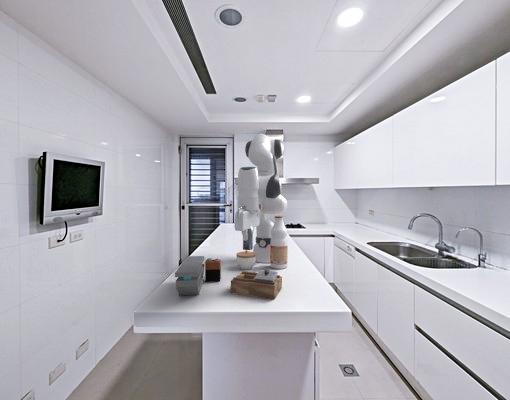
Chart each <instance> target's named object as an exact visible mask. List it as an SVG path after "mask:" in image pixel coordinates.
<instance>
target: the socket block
mask: <svg viewBox="0 0 510 400" xmlns="http://www.w3.org/2000/svg"><path fill="white" fill-rule="evenodd" d="M258 273H259V272H251V271H245V270H244V271H243V270H242V271H241V272H240V273H238V275H236V276H234V277H233V278H232V279H231V280H230V294H235V295H242V296H247V297H254V298H255V297H256V298H261V299H262V298H263V299H269V300H275V299H276V298H277V296H278V295H279V293H280V292H281V291H282V289H283V276H281V275H278V278H277V279H276V281H275V282H270V281H261V280H256V275H257V274H258Z"/></svg>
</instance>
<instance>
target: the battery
mask: <svg viewBox="0 0 510 400" xmlns="http://www.w3.org/2000/svg"><path fill="white" fill-rule="evenodd" d="M221 276H222V260H221V259H219V258H215V259H213V258H212V257H208V258H207V259H206V260H205V262H204V282H206V283H207V282H208V283H210V282H211V283H215V282H216V283H217V282H218V283H220V282H221V279H222V277H221Z"/></svg>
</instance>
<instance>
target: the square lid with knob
mask: <svg viewBox="0 0 510 400" xmlns="http://www.w3.org/2000/svg"><path fill="white" fill-rule="evenodd" d="M257 273H258V274H257V275H256V280H261V281H270V282H275V281H276V279H277V278H278V271H274V270H273V271H272V270H270V269H262V270H260V271H259V272H257Z"/></svg>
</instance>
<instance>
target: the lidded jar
mask: <svg viewBox="0 0 510 400" xmlns="http://www.w3.org/2000/svg"><path fill="white" fill-rule="evenodd" d="M235 254H236V262H237V263H236V264H238V267H240V269H242V270H251V269H253V267H254V266H256V265H255V264H256V253H255V252H253V251H250V250H244V251H239V252H236V253H235Z"/></svg>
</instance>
